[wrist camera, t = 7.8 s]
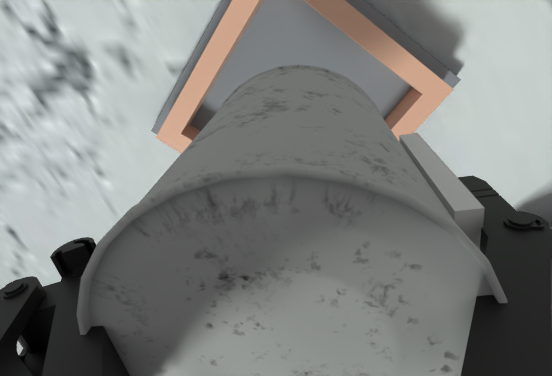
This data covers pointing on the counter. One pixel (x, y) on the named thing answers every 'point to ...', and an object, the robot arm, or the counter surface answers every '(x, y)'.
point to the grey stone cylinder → (288, 248)
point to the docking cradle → (305, 61)
